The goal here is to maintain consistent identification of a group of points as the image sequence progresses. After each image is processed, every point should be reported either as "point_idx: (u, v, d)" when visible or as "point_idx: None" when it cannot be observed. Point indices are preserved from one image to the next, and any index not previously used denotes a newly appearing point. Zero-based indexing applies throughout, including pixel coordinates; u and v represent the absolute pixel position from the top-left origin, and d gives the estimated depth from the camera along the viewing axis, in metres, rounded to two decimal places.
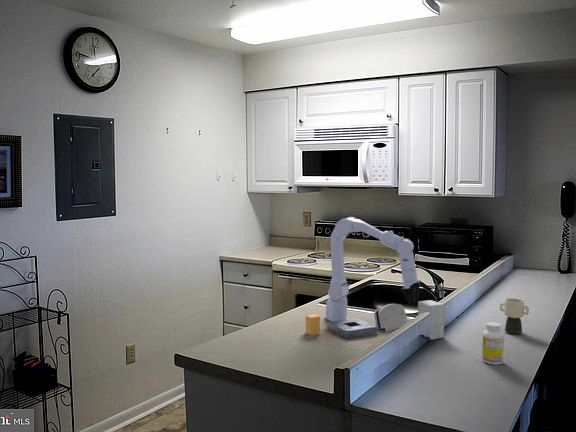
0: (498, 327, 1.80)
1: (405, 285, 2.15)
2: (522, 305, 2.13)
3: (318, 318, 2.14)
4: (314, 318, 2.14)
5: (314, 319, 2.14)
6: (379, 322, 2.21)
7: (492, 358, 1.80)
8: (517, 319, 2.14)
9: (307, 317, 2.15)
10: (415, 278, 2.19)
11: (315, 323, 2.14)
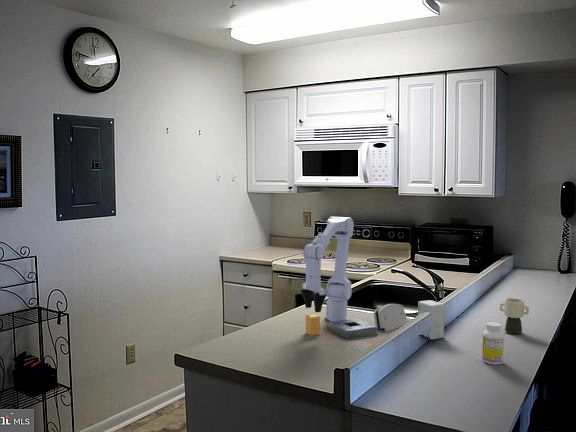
0: (498, 327, 1.80)
1: None
2: (522, 305, 2.13)
3: (318, 318, 2.14)
4: (314, 318, 2.14)
5: (314, 319, 2.14)
6: (379, 322, 2.21)
7: (492, 358, 1.80)
8: (517, 319, 2.14)
9: (307, 317, 2.15)
10: (306, 284, 2.14)
11: (315, 323, 2.14)
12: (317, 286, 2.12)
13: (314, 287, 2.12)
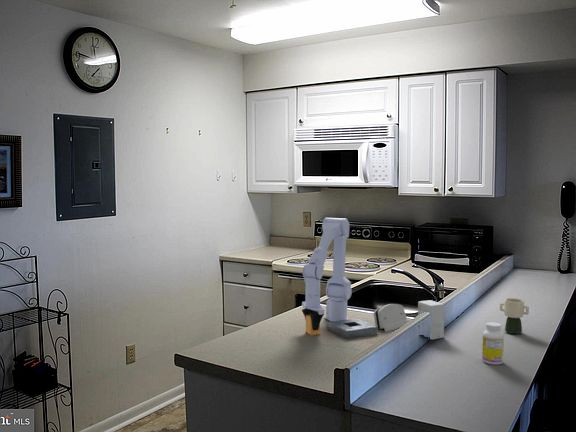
0: (498, 327, 1.80)
1: None
2: (522, 305, 2.13)
3: None
4: None
5: None
6: (378, 322, 2.21)
7: (492, 358, 1.80)
8: (517, 319, 2.14)
9: (307, 317, 2.15)
10: (305, 303, 2.15)
11: None
12: (316, 305, 2.13)
13: (313, 306, 2.12)
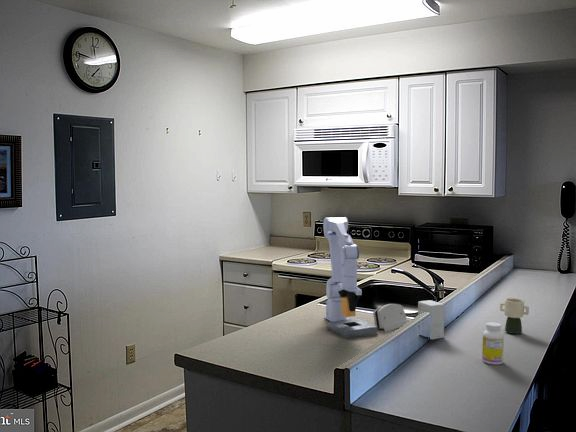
0: (498, 327, 1.80)
1: None
2: (522, 305, 2.13)
3: None
4: None
5: None
6: (378, 322, 2.21)
7: (492, 358, 1.80)
8: (517, 319, 2.14)
9: (343, 299, 2.17)
10: (342, 284, 2.17)
11: None
12: (353, 286, 2.14)
13: (351, 287, 2.14)
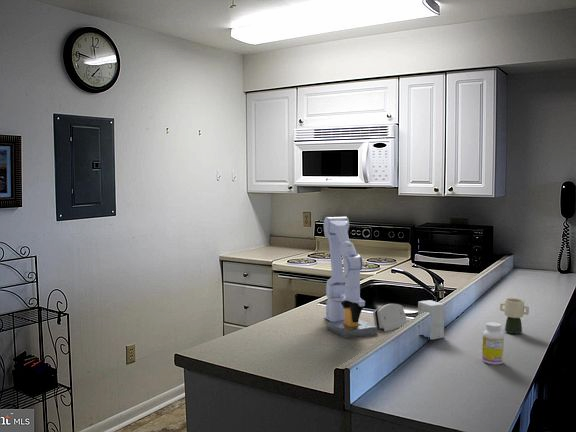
0: (498, 327, 1.80)
1: None
2: (522, 305, 2.13)
3: None
4: None
5: None
6: (378, 322, 2.21)
7: (492, 358, 1.80)
8: (517, 319, 2.14)
9: (346, 310, 2.17)
10: (345, 295, 2.17)
11: None
12: (357, 297, 2.15)
13: (354, 298, 2.14)
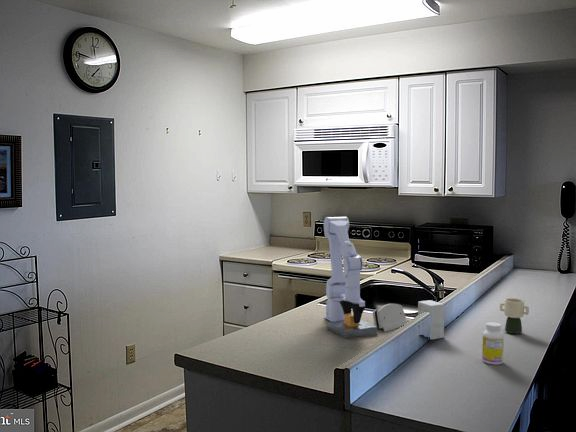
0: (498, 327, 1.80)
1: None
2: (522, 305, 2.13)
3: None
4: (353, 317, 2.16)
5: (353, 318, 2.16)
6: (378, 322, 2.21)
7: (492, 358, 1.80)
8: (517, 319, 2.14)
9: (346, 316, 2.17)
10: (345, 295, 2.17)
11: None
12: (357, 297, 2.15)
13: (354, 298, 2.14)
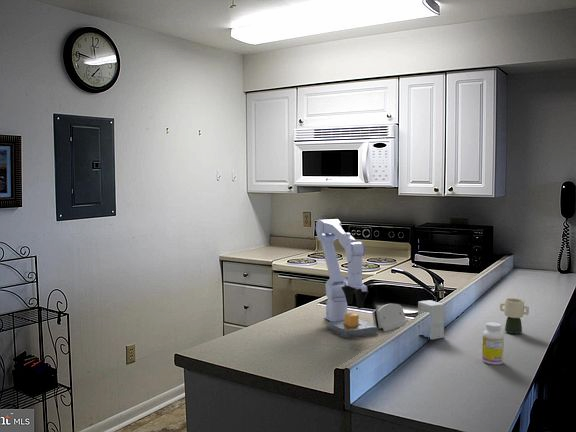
0: (498, 327, 1.80)
1: None
2: (522, 305, 2.13)
3: (357, 317, 2.16)
4: (353, 317, 2.16)
5: (353, 318, 2.16)
6: (377, 322, 2.21)
7: (492, 358, 1.80)
8: (517, 319, 2.14)
9: (346, 316, 2.17)
10: (347, 281, 2.21)
11: (354, 322, 2.16)
12: (359, 283, 2.18)
13: (356, 284, 2.18)
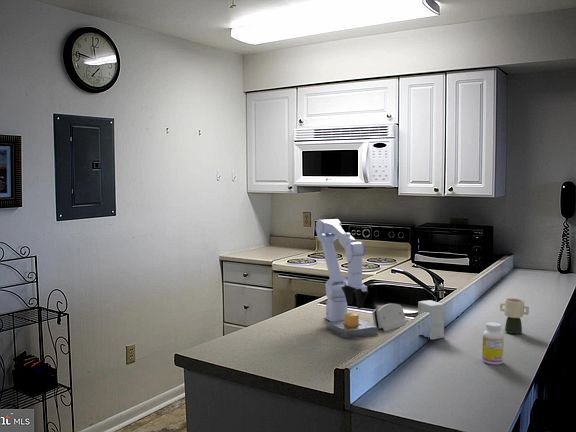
0: (498, 327, 1.80)
1: None
2: (522, 305, 2.13)
3: (357, 317, 2.16)
4: (353, 317, 2.16)
5: (353, 318, 2.16)
6: (377, 322, 2.21)
7: (492, 358, 1.80)
8: (517, 319, 2.14)
9: (346, 316, 2.17)
10: (347, 281, 2.21)
11: (354, 322, 2.16)
12: (359, 283, 2.18)
13: (356, 284, 2.18)
